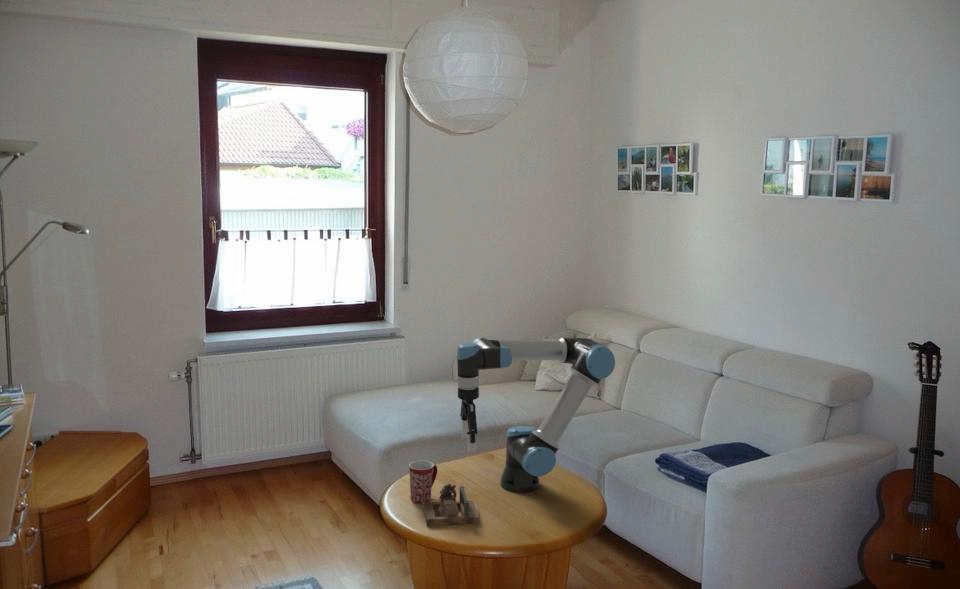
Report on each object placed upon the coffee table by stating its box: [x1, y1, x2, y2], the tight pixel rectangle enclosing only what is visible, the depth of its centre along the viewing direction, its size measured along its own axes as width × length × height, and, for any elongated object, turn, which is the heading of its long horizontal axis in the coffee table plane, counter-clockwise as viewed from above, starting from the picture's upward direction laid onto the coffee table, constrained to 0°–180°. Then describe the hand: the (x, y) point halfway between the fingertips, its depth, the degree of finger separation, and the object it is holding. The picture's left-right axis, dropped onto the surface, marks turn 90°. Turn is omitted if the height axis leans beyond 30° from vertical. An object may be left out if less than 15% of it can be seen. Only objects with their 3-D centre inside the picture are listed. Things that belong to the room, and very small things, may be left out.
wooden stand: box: [422, 486, 480, 527], centre depth 278 cm, size 18×14×8 cm
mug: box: [408, 459, 438, 505], centre depth 292 cm, size 13×9×14 cm
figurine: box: [437, 482, 459, 517], centre depth 278 cm, size 7×7×12 cm
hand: (468, 444), depth 285 cm, fingers open, 13 cm apart
